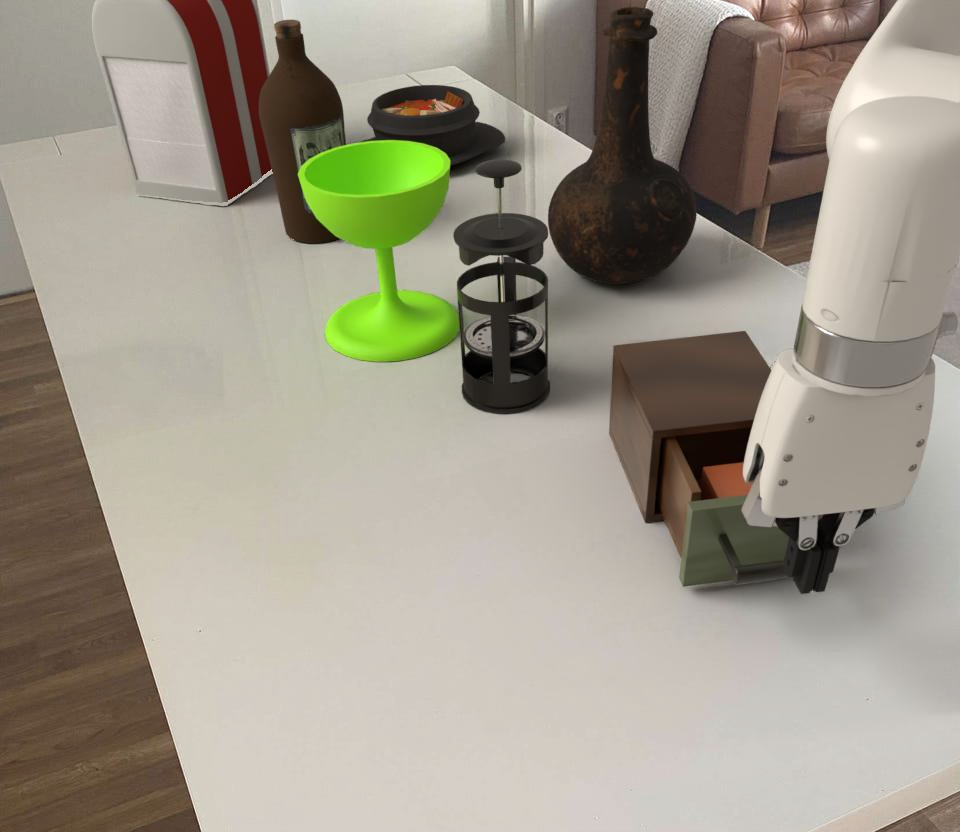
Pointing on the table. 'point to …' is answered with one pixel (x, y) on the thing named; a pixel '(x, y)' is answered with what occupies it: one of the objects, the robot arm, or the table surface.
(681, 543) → the drawer
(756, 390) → the cabinet
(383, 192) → the wineglass
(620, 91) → the glass bottle
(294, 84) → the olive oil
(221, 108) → the tissue box
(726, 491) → the block
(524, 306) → the french press
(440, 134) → the casserole
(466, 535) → the table surface
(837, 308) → the robot arm
